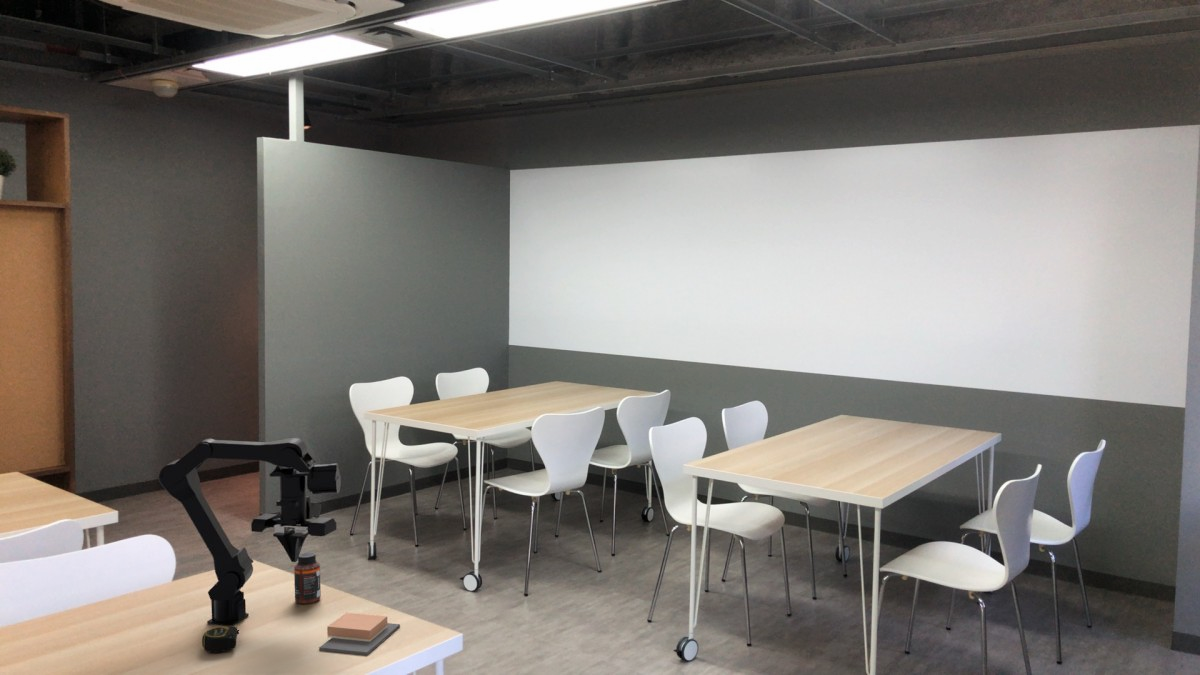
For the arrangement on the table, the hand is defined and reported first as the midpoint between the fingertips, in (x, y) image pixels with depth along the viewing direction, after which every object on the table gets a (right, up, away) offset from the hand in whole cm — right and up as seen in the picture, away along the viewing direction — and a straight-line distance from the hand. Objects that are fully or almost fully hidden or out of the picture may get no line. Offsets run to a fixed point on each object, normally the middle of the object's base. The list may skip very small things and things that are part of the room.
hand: (294, 561), depth 195 cm
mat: (+18, -14, -11) cm, 25 cm away
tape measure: (-9, -14, -16) cm, 23 cm away
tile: (+12, -12, -8) cm, 19 cm away
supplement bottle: (-1, -13, +11) cm, 17 cm away
